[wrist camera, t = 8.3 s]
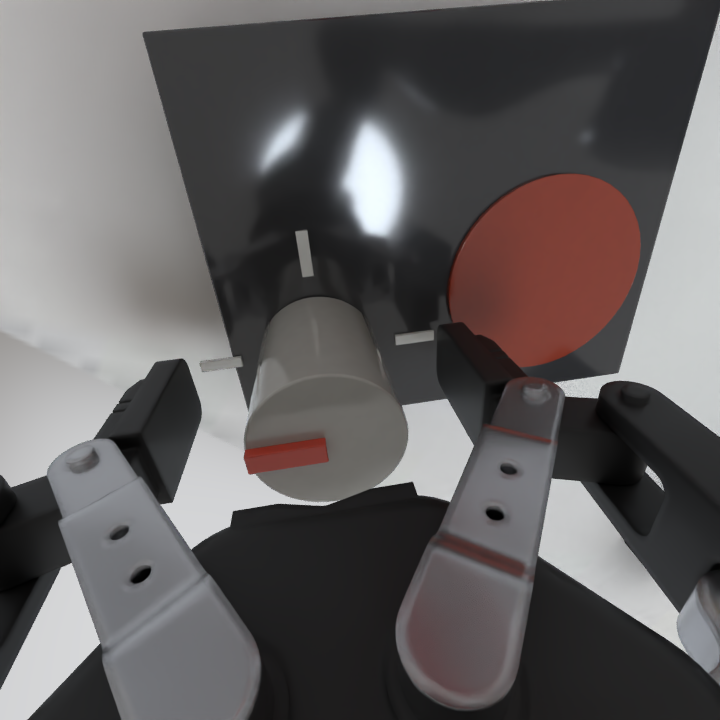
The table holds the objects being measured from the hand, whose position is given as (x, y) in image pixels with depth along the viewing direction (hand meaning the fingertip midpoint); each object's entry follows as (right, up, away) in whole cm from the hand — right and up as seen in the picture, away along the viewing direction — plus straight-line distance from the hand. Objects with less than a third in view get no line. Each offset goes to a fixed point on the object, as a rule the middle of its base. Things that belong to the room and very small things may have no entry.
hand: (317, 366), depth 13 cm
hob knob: (0, +1, +1) cm, 1 cm away
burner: (+8, +3, +1) cm, 8 cm away
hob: (+4, +5, +3) cm, 7 cm away
